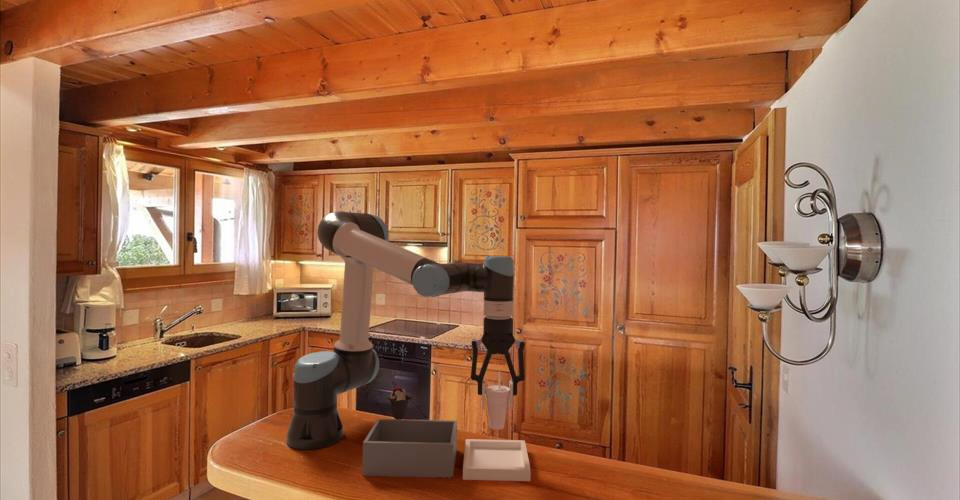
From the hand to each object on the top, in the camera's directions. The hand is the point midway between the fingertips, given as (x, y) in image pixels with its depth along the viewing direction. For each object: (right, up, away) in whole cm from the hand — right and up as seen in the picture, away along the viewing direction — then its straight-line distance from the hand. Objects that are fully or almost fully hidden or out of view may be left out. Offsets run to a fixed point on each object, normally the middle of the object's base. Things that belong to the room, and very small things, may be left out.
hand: (497, 407), depth 115 cm
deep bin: (-22, -14, +1) cm, 26 cm away
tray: (0, -15, 0) cm, 15 cm away
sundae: (-28, -14, +19) cm, 37 cm away
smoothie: (0, -5, 0) cm, 5 cm away
